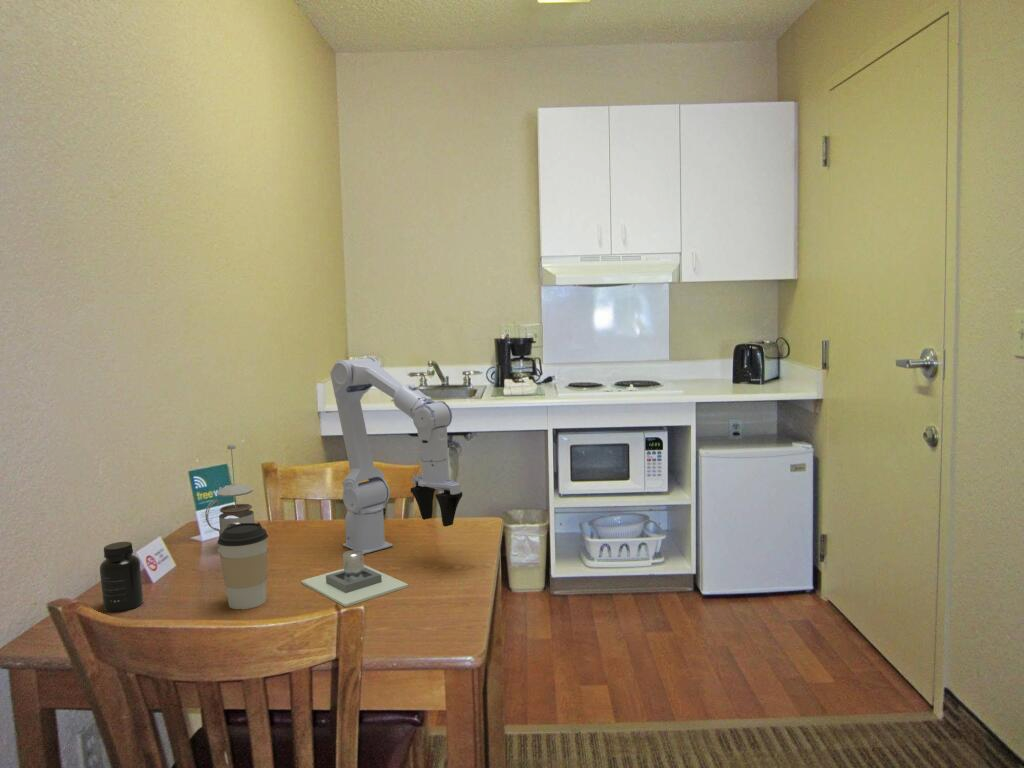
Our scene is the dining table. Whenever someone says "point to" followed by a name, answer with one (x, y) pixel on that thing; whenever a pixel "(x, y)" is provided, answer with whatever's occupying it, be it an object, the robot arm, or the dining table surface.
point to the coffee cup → (244, 564)
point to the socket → (354, 586)
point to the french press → (232, 510)
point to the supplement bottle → (120, 578)
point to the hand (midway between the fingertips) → (437, 521)
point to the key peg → (353, 565)
